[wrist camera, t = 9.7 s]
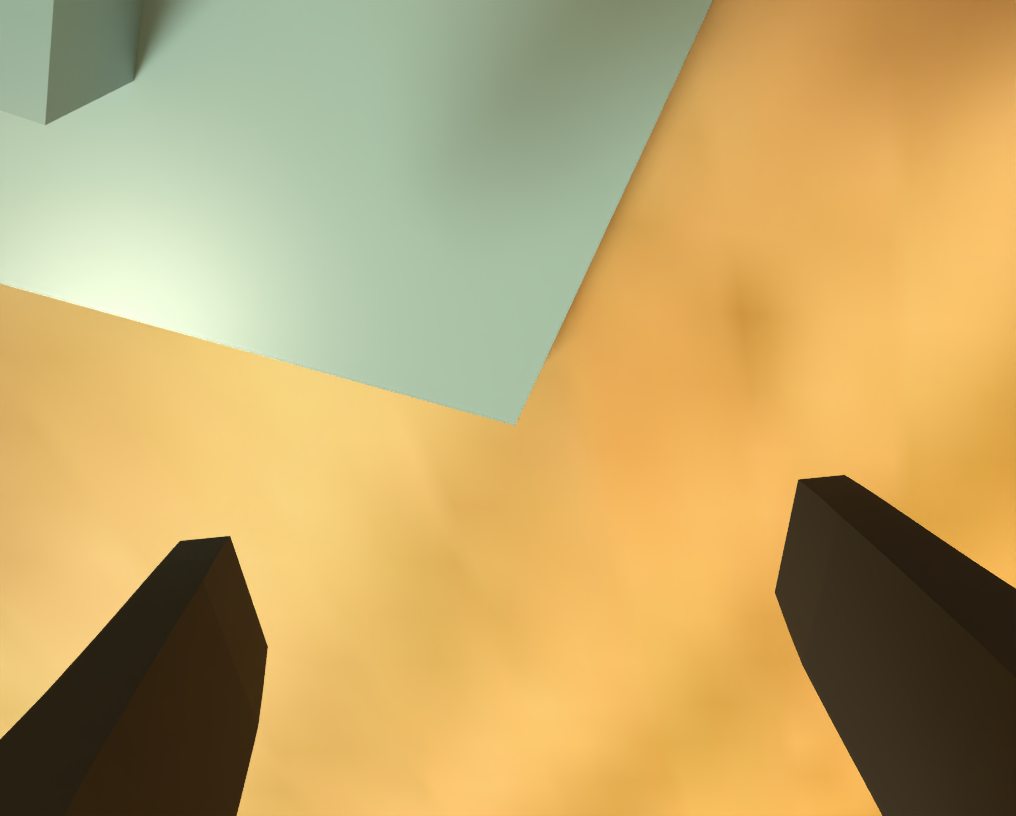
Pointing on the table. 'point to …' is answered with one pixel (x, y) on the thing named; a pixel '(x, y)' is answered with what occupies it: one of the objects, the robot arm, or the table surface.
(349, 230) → the lid
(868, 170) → the table surface
